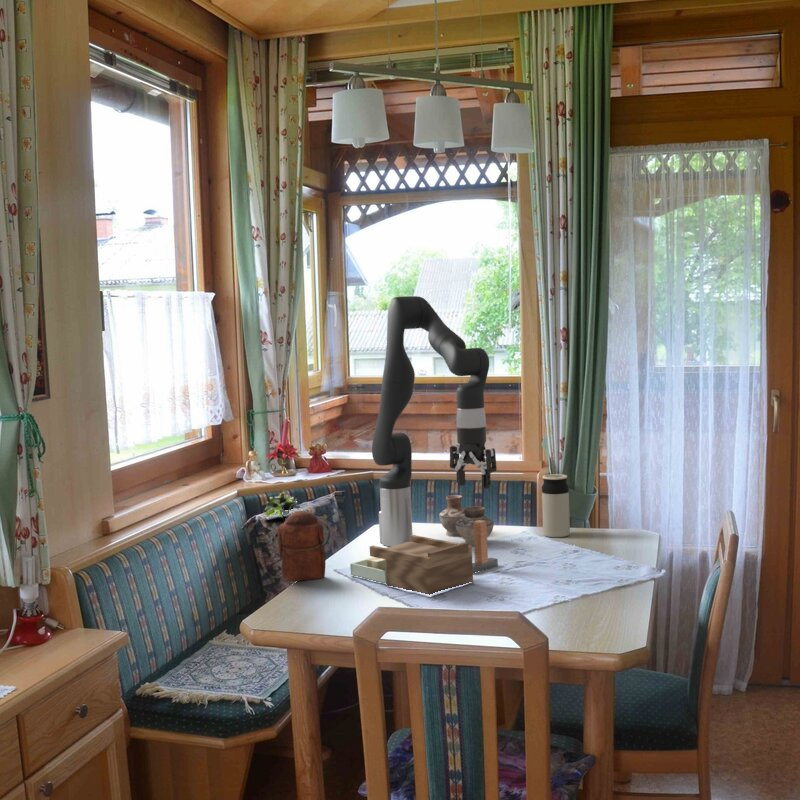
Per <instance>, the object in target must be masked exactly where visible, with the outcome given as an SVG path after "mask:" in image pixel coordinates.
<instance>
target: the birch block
mask: <svg viewBox="0 0 800 800" xmlns="http://www.w3.org/2000/svg"><path fill="white" fill-rule="evenodd" d="M370 558H371V559H368V558H367V559H368V560H367V567H371V568H376V569H380V570H384V571H387V570H386V559H381V558H377V557H375V558H372V557H370Z"/></svg>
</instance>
